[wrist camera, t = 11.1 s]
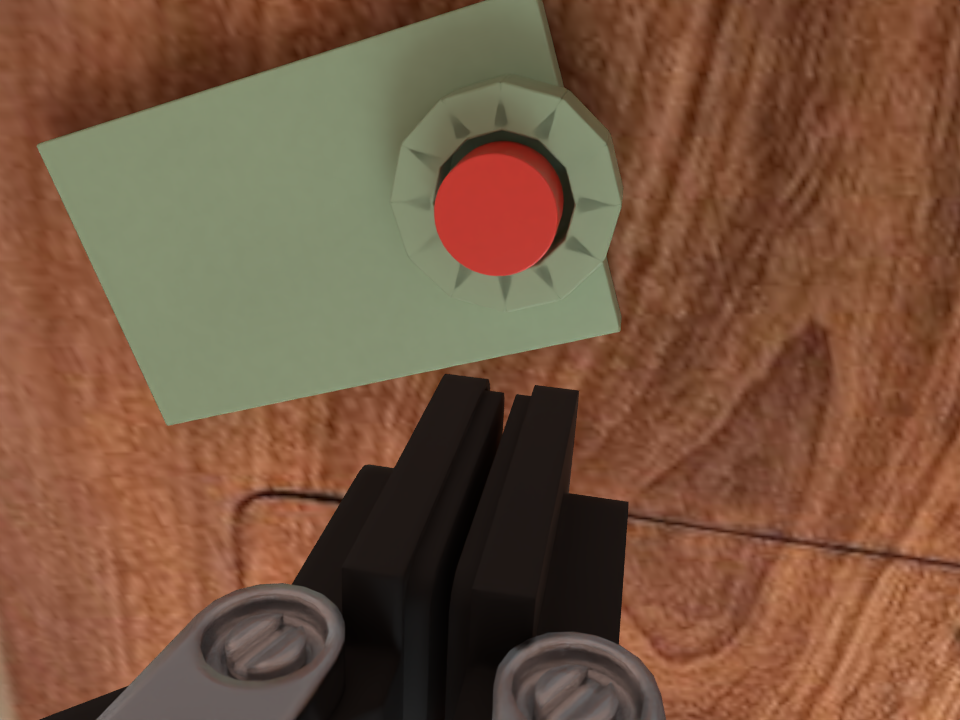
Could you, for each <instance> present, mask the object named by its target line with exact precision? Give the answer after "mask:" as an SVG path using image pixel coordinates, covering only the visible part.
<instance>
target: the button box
mask: <svg viewBox="0 0 960 720" xmlns="http://www.w3.org/2000/svg"><path fill="white" fill-rule="evenodd" d="M495 141H512V142H517V143H521V144H523V145H526V146H528V147H530V148H532V149H534V150H536V151H537V152H539V153H540V154H541V155H542V156H544V157H545V158H546V159H547V160H548V161H549V163H550V164H551V165H552V166H553V168H554V169H555V171H556V173H557V175H558V177H559V179H560V182H561V185H562V190H563V197H564V204H563V212H562V217H561V220H560V223H559V226H558V229H557V232H556V235H555V237H554V240H553V242H552V244H551V246H550V248H549V249H548V251H547V252H546V254H545V255H544V256H543V257H542V258H541V259H540V260H539V261H538V262H537V263H535V264H534V265H533V266H531V267H530V268H528V269H526V270H524V271H522V272H519V273H516V274H513V275H507V276H490V275H485V274H480V273H478V272H475V271H472V270H470V269H468V268H466V267H465V266H463V265H462V264H460V263H459V262H458V261H457V260H455V259H454V258H453V257H452V256H451V255H450V253H449V252H448V251H447V250H446V248H445V247H444V245H443V244H442V242H441V240H440V238H439V235H438V233H437V230H436V226H435V220H434V205H435V199H436V195H437V192H438V189H439V187H440V185H441V183H442V182H443V180H444V178H445V177H446V176H447V174H448V173H449V172H450V171H451V170H452V169H453V168H454V167H455V166H456V165H457V163H458V162H459V161H460V160H461V159H462V158H463V157H464V156H465V155H467V154H468V153H469V152H470V151H472V150H473V149H475V148H477V147H479V146H481V145H484V144H487V143H490V142H495ZM37 148H38V150H39V152H40V154H41V156H42V159H43V161H44V163H45V165H46V167H47V169H48V171H49V174H50V176H51V178H52V180H53V182H54V184H55V186H56V189H57V191H58V193H59V195H60V197H61V199H62V201H63V204H64V206H65V208H66V210H67V212H68V214H69V216H70V219H71V221H72V223H73V225H74V227H75V229H76V232H77V234H78V236H79V238H80V240H81V242H82V244H83V247H84V249H85V251H86V253H87V255H88V257H89V259H90V262H91V264H92V266H93V268H94V270H95V272H96V274H97V277H98V279H99V281H100V283H101V285H102V287H103V290H104V292H105V294H106V296H107V298H108V300H109V302H110V305H111V307H112V309H113V311H114V313H115V315H116V317H117V320H118V322H119V324H120V326H121V328H122V330H123V332H124V335H125V337H126V339H127V341H128V343H129V345H130V347H131V350H132V352H133V354H134V356H135V358H136V360H137V363H138V365H139V367H140V369H141V371H142V373H143V375H144V378H145V380H146V382H147V384H148V386H149V388H150V390H151V393H152V395H153V397H154V399H155V401H156V403H157V405H158V408H159V410H160V412H161V414H162V416H163V418H164V420H165V423H166V425H173V424H178V423H183V422H187V421H192V420H197V419H202V418H207V417H212V416H216V415H221V414H226V413H231V412H236V411H240V410H245V409H250V408H255V407H260V406H264V405H269V404H274V403H279V402H284V401H288V400H293V399H298V398H303V397H308V396H313V395H317V394H322V393H327V392H332V391H337V390H341V389H346V388H351V387H356V386H361V385H365V384H370V383H375V382H380V381H385V380H389V379H394V378H399V377H404V376H409V375H414V374H418V373H423V372H428V371H433V370H438V369H442V368H447V367H452V366H457V365H462V364H466V363H471V362H476V361H481V360H486V359H490V358H495V357H500V356H505V355H510V354H515V353H519V352H524V351H529V350H534V349H539V348H543V347H548V346H553V345H558V344H563V343H567V342H572V341H577V340H582V339H587V338H591V337H596V336H601V335H606V334H611V333H616V332H619V331H620V329H621V313H620V309H619V305H618V301H617V297H616V293H615V289H614V285H613V281H612V277H611V273H610V269H609V265H608V261H607V257H606V255H607V252H608V249H609V245H610V242H611V239H612V236H613V233H614V229H615V226H616V223H617V220H618V217H619V213H620V210H621V207H622V197H623V184H622V180H621V176H620V172H619V168H618V163H617V159H616V155H615V151H614V146H613V142H612V138H611V134H610V133H609V131H608V130H607V129H606V128H605V127H604V125H603V124H602V123H601V122H600V121H599V120H598V119H597V118H596V117H595V116H594V115H593V114H592V113H591V112H590V111H589V110H588V109H587V108H586V107H585V106H584V105H583V104H582V103H581V102H580V101H579V100H578V98H577V97H576V96H575V95H574V94H573V93H572V92H571V91H570V90H567V89H566V88H564V85H563V81H562V77H561V73H560V69H559V65H558V61H557V57H556V53H555V49H554V45H553V41H552V37H551V33H550V29H549V25H548V21H547V17H546V13H545V9H544V6H543V2H542V0H485V1H482V2H479V3H476V4H473V5H469V6H466V7H463V8H460V9H457V10H454V11H451V12H448V13H444V14H441V15H438V16H435V17H432V18H429V19H426V20H423V21H420V22H416V23H413V24H410V25H407V26H404V27H401V28H398V29H395V30H391V31H388V32H385V33H382V34H379V35H376V36H373V37H370V38H367V39H363V40H360V41H357V42H354V43H351V44H348V45H345V46H342V47H338V48H335V49H332V50H329V51H326V52H323V53H320V54H317V55H314V56H310V57H307V58H304V59H301V60H298V61H295V62H292V63H289V64H285V65H282V66H279V67H276V68H273V69H270V70H267V71H264V72H261V73H257V74H254V75H251V76H248V77H245V78H242V79H239V80H236V81H232V82H229V83H226V84H223V85H220V86H217V87H214V88H211V89H208V90H204V91H201V92H198V93H195V94H192V95H189V96H186V97H183V98H179V99H176V100H173V101H170V102H167V103H164V104H161V105H158V106H155V107H151V108H148V109H145V110H142V111H139V112H136V113H133V114H130V115H126V116H123V117H120V118H117V119H114V120H111V121H108V122H105V123H102V124H98V125H95V126H92V127H89V128H86V129H83V130H80V131H77V132H73V133H70V134H67V135H64V136H61V137H58V138H55V139H52V140H49V141H45V142H42V143H39V144H38V145H37Z"/></svg>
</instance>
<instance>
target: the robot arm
mask: <svg viewBox="0 0 960 720" xmlns="http://www.w3.org/2000/svg"><path fill="white" fill-rule="evenodd" d="M578 397H579V391H578V390H570V389H562V388H554V387H546V386H538V385H535V387H534V389H533V392H532V396H526V395H518V394H517V395H516V397H515V400H514V402H513V405H512V408H511V411H510V414H509V417H508V420H507V423H506V426H505V429H504V432H503V416H504V393H502V392H494V391H490V383H489V379H482V378H474V377H466V376H458V375H450V374H445V375H444V376H443V378H442V379H441V381H440V383H439V385H438V387H437V389H436V391H435V393H434V394H433V396H432V398H431V400H430V402H429V404H428V406H427V408H426V409H425V411H424V413H423V415H422V417H421V419H420V421H419V423H418V424H417V426H416V428H415V430H414V432H413V434H412V436H411V438H410V440H409V441H408V443H407V445H406V447H405V449H404V451H403V453H402V455H401V456H400V458H399V460H398V462H397V464H396V466H395V468H389V467H382V466H375V465H365V466H363V468H362V469H361V470H360V471H359V473H358V474H357V476H356V478H355V479H354V481H353V483H352V484H351V486H350V488H349V489H348V491H347V493H346V495H345V496H344V498H343V500H342V501H341V503H340V505H339V506H338V508H337V510H336V511H335V513H334V515H333V516H332V518H331V520H330V521H329V523H328V525H327V526H326V528H325V530H324V531H323V533H322V535H321V536H320V538H319V540H318V541H317V543H316V545H315V546H314V548H313V550H312V551H311V553H310V555H309V556H308V558H307V560H306V562H305V563H304V565H303V567H302V568H301V570H300V572H299V573H298V575H297V577H296V578H295V580H294V582H293V583H292V585H290V584H284V583H280V584H259V585H255V586H251V587H247V588H243V589H239V590H236V591H234V592H231V593H229V594H227V595H225V596H223V597H221V598H219V599H217V600H215V601H213V602H212V603H211V604H210V605H208V606H207V607H206V608H205V609H203V610H202V611H201V612H200V613H198V614H197V615H196V616H195V617H194V618H193V619H192V620H191V622H190V623H189V624H188V625H187V626H186V627H185V628H184V629H183V630H182V631H181V632H180V633H179V634H178V635H177V636H176V637H175V638H174V639H173V640H172V641H171V642H170V643H169V644H168V645H167V646H166V648H165V649H164V650H163V651H162V652H161V653H160V654H159V655H158V656H157V657H156V658H155V659H154V660H153V661H152V662H151V663H150V664H149V665H148V666H147V667H146V668H145V669H144V670H143V671H142V672H141V674H140V675H139V676H138V677H137V678H136V679H135V680H134V681H133V682H132V683H131V684H130V685H129V686H127V687H124V688H121V689H119V690H116V691H113V692H111V693H108V694H106V695H103V696H100V697H98V698H95V699H92V700H90V701H87V702H85V703H82V704H79V705H77V706H74V707H71V708H69V709H66V710H64V711H61V712H58V713H56V714H53V715H50V716H48V717H45V718H43V719H40V720H666V717H665V712H664V707H663V702H662V696H661V693H660V691H659V688H658V686H657V683H656V681H655V678H654V676H653V674H652V673H651V672H650V671H649V670H648V669H647V667H646V666H645V665H644V664H643V663H642V661H641V660H640V659H639V658H638V657H636V656H635V655H633V654H632V653H631V652H629V651H628V650H626V649H625V648H623V647H622V646H621V645H619V632H620V618H621V604H622V590H623V576H624V561H625V547H626V533H627V519H628V502H626V501H619V500H612V499H605V498H598V497H591V496H584V495H577V494H570V493H569V485H570V475H571V466H572V456H573V446H574V437H575V427H576V418H577V408H578ZM502 432H503V434H502Z"/></svg>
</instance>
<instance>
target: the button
mask: <svg viewBox="0 0 960 720" xmlns="http://www.w3.org/2000/svg"><path fill="white" fill-rule="evenodd" d="M563 204H564V197H563V190H562V185H561V182H560V179H559V177H558V175H557V173H556V171H555V169H554V168H553V166H552V165H551V164H550V163H549V161H548V160H547V159H546V158H545V157H544V156H542V155H541V154H540V153H539V152H537V151H536V150H534V149H532V148H530V147H528V146H526V145H523V144H521V143H517V142H512V141H495V142H490V143H487V144H484V145H481V146H479V147H477V148H475V149H473V150H472V151H470V152H469V153H468V154H467V155H465V156H464V157H463V158H462V159H461V160H460V161H459V162H458V163H457V165H456V166H455V167H454V168H453V169H452V170H451V171H450V172H449V173H448V174H447V176H446V177H445V178H444V180H443V182H442V183H441V185H440V187H439V189H438V192H437V195H436V199H435V205H434V220H435V226H436V230H437V233H438V235H439V238H440V240H441V242H442V244H443V245H444V247H445V248H446V250H447V251H448V252H449V253H450V255H451V256H452V257H453V258H454V259H455V260H457V261H458V262H459V263H460V264H462V265H463V266H465V267H466V268H468V269H470V270H472V271H475V272H478V273H480V274H485V275H490V276H507V275H513V274H516V273H519V272H522V271H524V270H526V269H528V268H530V267H531V266H533V265H534V264H535V263H537V262H538V261H539V260H540V259H541V258H542V257H543V256H544V255H545V254H546V252H547V251H548V249H549V248H550V246H551V244H552V242H553V240H554V237H555V235H556V232H557V229H558V226H559V223H560V220H561V217H562V212H563Z"/></svg>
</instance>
